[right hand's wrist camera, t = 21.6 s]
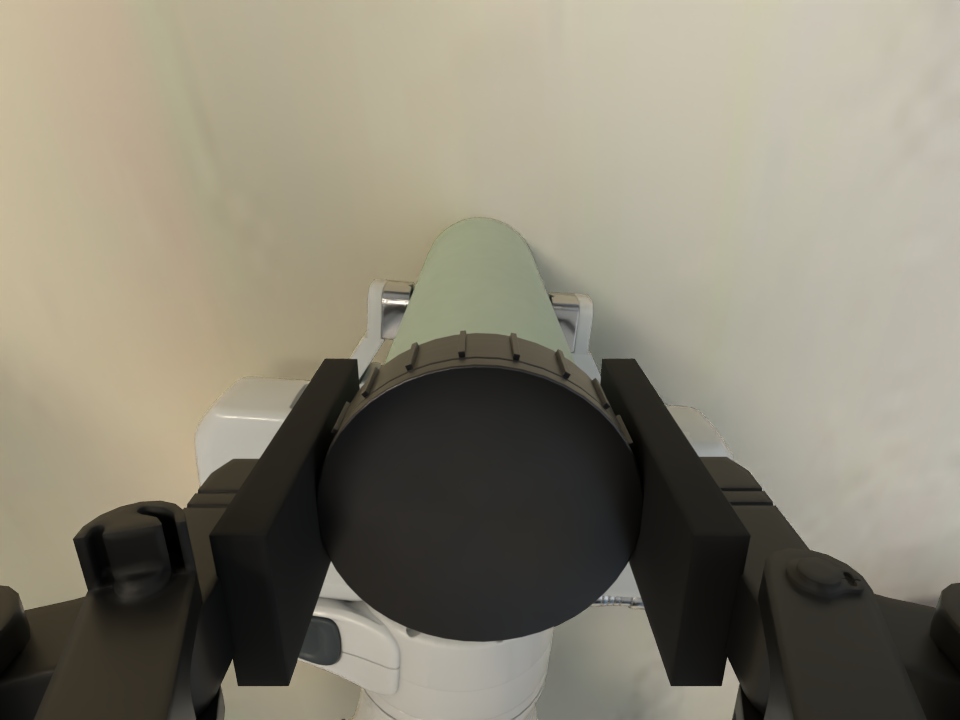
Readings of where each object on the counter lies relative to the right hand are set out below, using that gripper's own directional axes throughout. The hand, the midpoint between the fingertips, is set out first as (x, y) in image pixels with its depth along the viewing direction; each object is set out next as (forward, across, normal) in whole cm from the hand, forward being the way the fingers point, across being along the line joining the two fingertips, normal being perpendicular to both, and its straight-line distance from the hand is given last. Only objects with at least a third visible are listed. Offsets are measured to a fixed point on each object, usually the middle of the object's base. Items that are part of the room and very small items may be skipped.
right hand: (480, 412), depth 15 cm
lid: (-4, 0, 0) cm, 4 cm away
